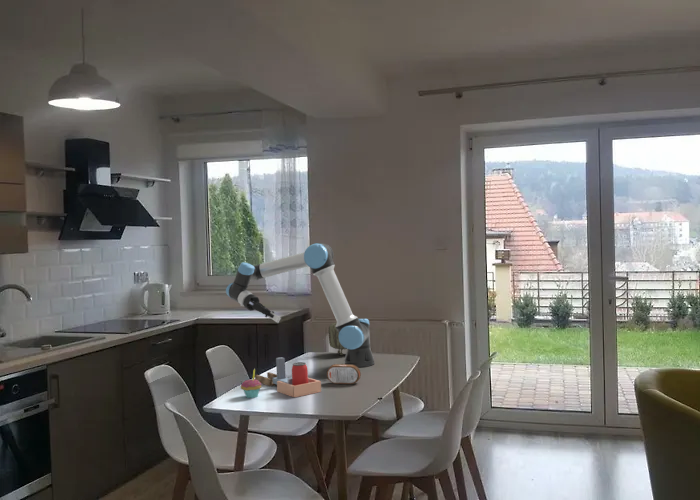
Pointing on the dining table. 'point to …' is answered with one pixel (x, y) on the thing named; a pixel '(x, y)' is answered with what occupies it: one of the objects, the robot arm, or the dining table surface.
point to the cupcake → (251, 387)
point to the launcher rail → (266, 379)
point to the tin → (343, 374)
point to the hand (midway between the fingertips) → (278, 320)
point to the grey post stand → (281, 372)
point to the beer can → (299, 373)
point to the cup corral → (299, 388)
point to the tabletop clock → (335, 338)
